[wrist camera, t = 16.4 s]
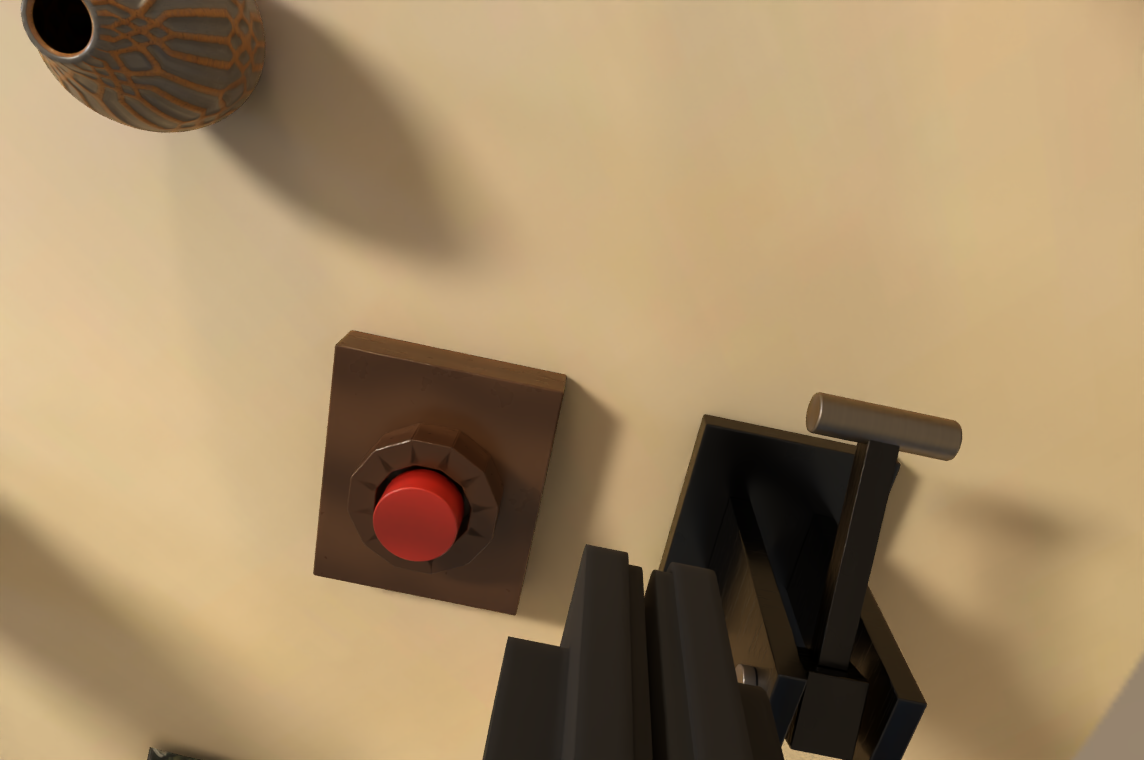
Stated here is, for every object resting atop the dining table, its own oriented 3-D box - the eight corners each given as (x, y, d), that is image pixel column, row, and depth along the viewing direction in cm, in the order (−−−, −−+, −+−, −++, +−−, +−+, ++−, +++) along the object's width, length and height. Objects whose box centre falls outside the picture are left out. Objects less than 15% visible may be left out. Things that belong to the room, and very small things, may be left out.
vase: (322, 80, 32) (220, 81, 23) (184, 154, 33) (42, 179, 25) (227, -97, 30) (79, -164, 21) (84, -11, 31) (-107, -42, 23)
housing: (350, 329, 35) (319, 358, 32) (567, 374, 36) (561, 408, 32) (328, 549, 40) (298, 598, 36) (521, 588, 40) (511, 641, 36)
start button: (388, 460, 34) (376, 480, 32) (470, 477, 34) (463, 497, 32) (379, 531, 35) (367, 553, 33) (458, 547, 35) (450, 569, 33)
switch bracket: (703, 413, 36) (746, 578, 24) (893, 452, 36) (1029, 636, 24) (647, 606, 40) (661, 830, 28) (819, 640, 40) (904, 877, 28)
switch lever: (806, 389, 28) (829, 394, 26) (940, 417, 29) (974, 424, 26) (734, 708, 29) (750, 741, 27) (865, 734, 29) (892, 770, 27)
